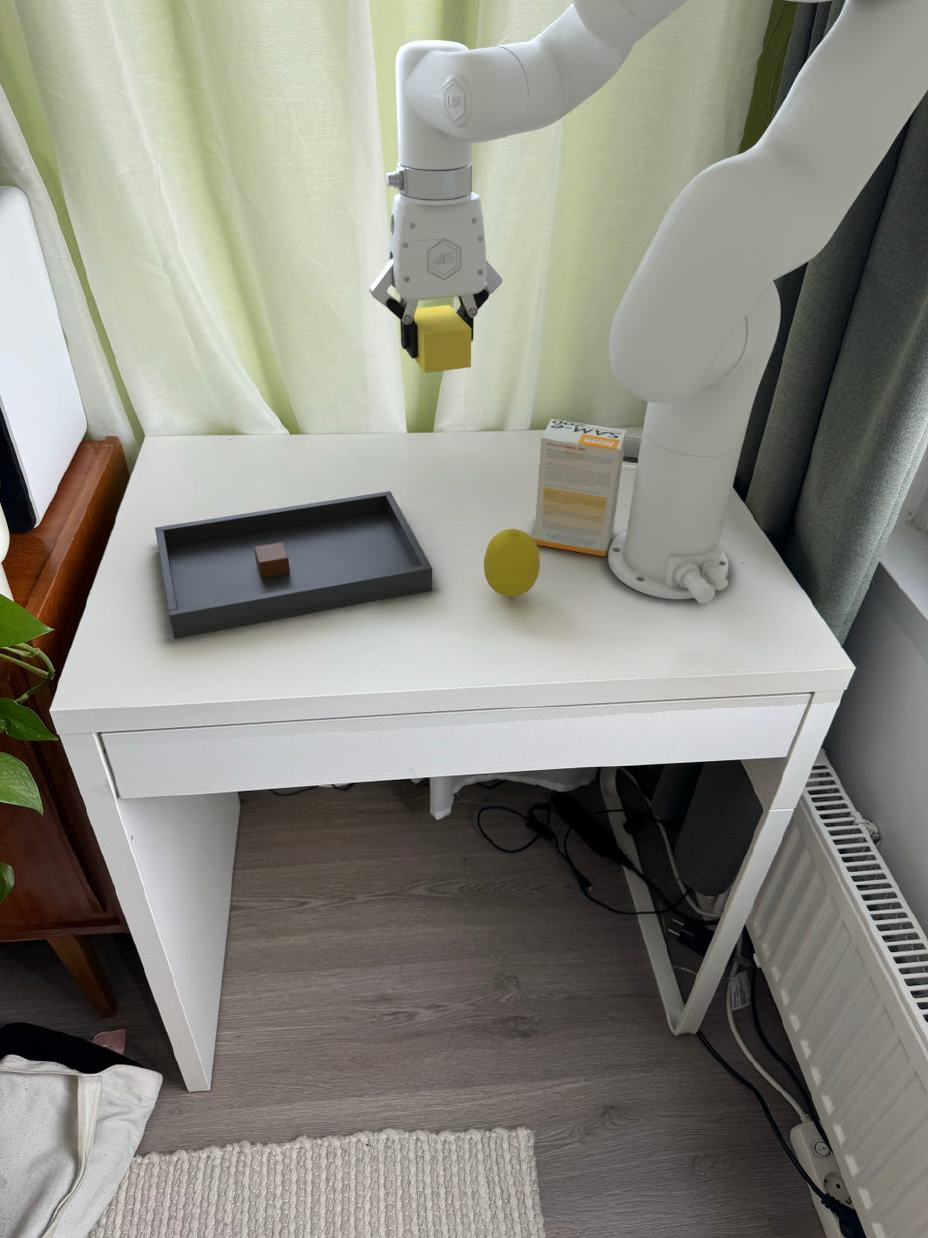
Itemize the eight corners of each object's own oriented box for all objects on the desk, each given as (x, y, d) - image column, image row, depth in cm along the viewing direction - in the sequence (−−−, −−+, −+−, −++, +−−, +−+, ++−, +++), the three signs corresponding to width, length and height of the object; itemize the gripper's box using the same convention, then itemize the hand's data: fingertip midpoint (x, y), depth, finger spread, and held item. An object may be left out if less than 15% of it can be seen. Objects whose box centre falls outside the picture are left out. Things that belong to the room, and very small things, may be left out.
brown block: (290, 573, 95) (288, 557, 94) (261, 578, 94) (258, 562, 93) (284, 557, 97) (283, 541, 96) (256, 562, 97) (253, 546, 95)
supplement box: (613, 535, 103) (629, 428, 95) (606, 559, 100) (622, 449, 91) (541, 522, 105) (551, 416, 97) (531, 544, 101) (540, 436, 93)
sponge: (471, 367, 105) (471, 328, 103) (424, 373, 104) (423, 333, 101) (449, 341, 111) (449, 304, 109) (405, 347, 110) (404, 309, 107)
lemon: (521, 619, 91) (527, 552, 86) (472, 601, 93) (475, 535, 88) (545, 590, 95) (552, 524, 90) (498, 573, 97) (501, 508, 92)
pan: (432, 590, 94) (432, 568, 93) (174, 638, 88) (168, 615, 86) (391, 511, 106) (390, 490, 104) (159, 549, 99) (154, 527, 97)
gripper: (363, 196, 91) (373, 372, 102) (526, 184, 95) (518, 354, 106) (346, 179, 97) (357, 347, 108) (500, 168, 101) (496, 331, 112)
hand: (437, 349), depth 107 cm, fingers closed on sponge, 5 cm apart
